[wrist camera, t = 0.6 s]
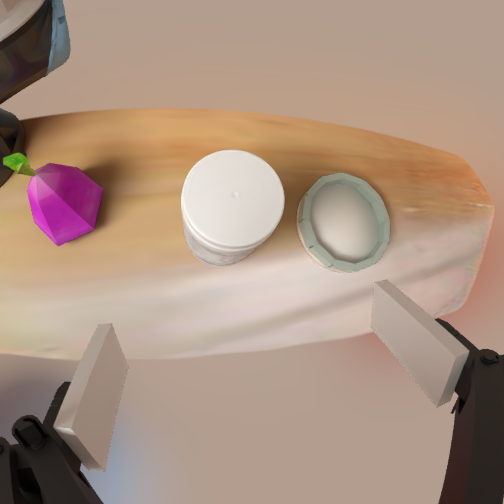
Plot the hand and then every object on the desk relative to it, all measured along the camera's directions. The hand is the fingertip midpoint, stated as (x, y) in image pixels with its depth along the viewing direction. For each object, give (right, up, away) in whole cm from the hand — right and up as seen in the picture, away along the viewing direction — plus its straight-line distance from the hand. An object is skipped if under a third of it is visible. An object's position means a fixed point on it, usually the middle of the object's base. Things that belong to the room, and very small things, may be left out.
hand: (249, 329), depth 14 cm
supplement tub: (-4, +6, +27) cm, 28 cm away
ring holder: (+13, +8, +30) cm, 34 cm away
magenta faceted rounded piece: (-25, +10, +23) cm, 36 cm away
